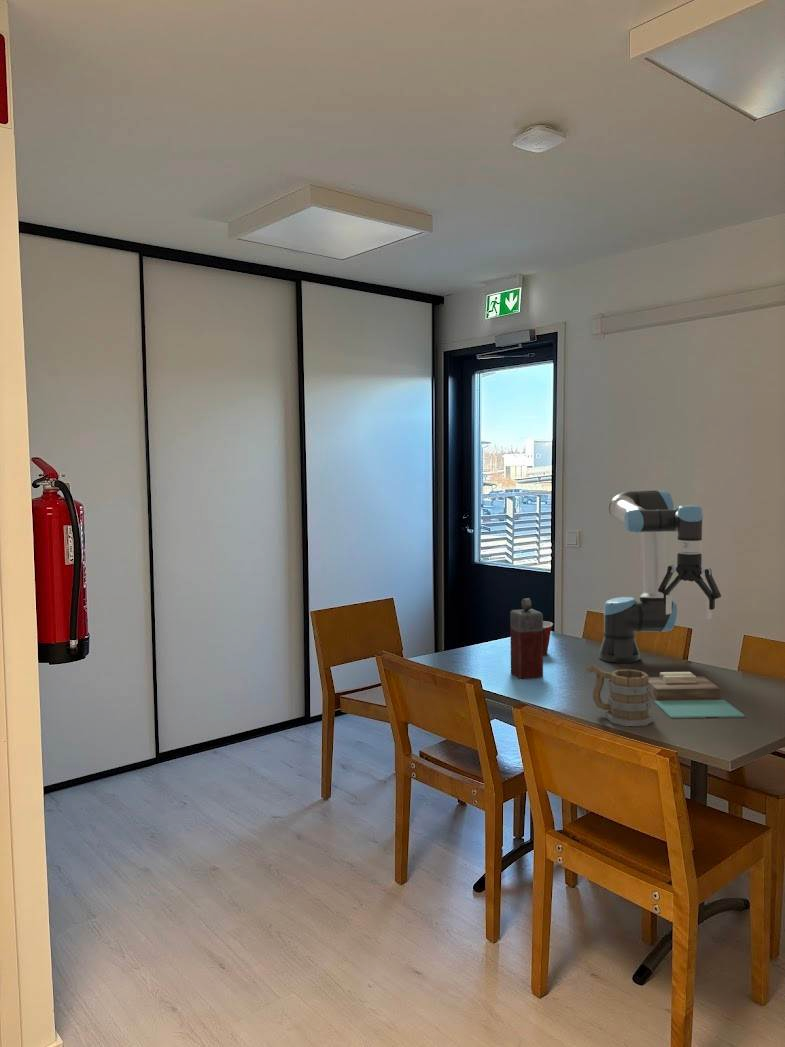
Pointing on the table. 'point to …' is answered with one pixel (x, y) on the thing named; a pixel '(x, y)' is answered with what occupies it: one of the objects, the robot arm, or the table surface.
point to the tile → (677, 677)
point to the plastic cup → (547, 630)
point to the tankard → (624, 696)
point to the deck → (683, 690)
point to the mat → (698, 708)
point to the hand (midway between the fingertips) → (688, 616)
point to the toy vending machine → (527, 642)
